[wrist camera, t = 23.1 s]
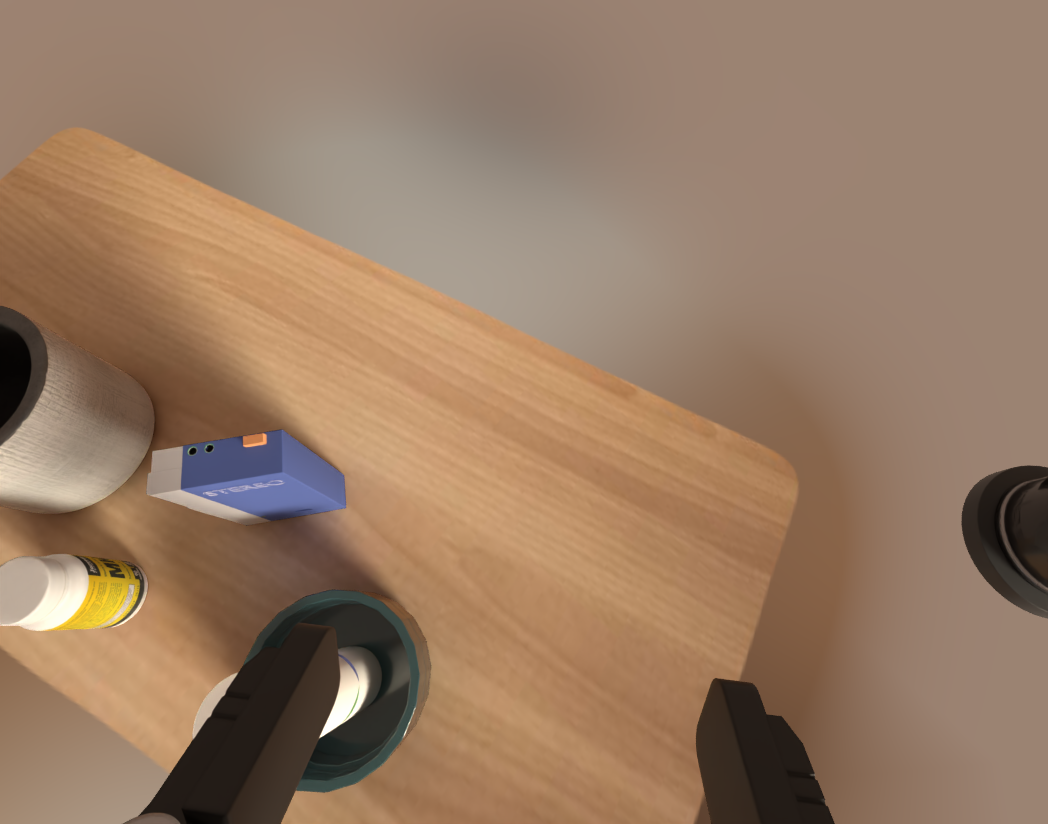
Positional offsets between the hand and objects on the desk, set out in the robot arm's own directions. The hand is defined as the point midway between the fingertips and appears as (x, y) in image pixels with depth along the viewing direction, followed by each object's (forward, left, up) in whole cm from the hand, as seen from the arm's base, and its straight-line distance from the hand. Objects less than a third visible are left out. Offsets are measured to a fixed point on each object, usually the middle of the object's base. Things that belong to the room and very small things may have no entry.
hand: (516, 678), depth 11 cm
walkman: (+20, -2, -29) cm, 35 cm away
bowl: (+10, +7, -29) cm, 32 cm away
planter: (+39, 0, -29) cm, 49 cm away
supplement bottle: (+29, +9, -29) cm, 42 cm away
